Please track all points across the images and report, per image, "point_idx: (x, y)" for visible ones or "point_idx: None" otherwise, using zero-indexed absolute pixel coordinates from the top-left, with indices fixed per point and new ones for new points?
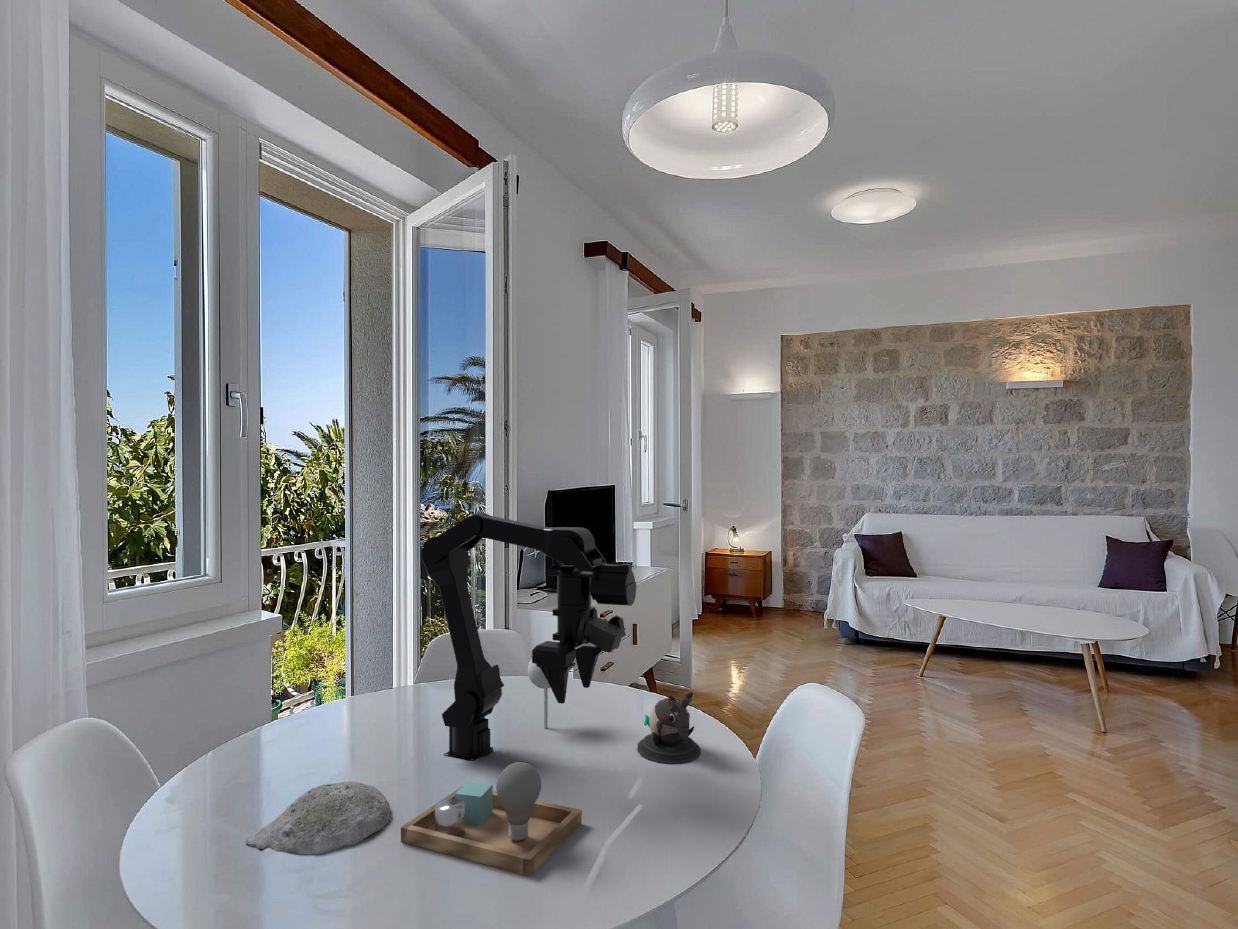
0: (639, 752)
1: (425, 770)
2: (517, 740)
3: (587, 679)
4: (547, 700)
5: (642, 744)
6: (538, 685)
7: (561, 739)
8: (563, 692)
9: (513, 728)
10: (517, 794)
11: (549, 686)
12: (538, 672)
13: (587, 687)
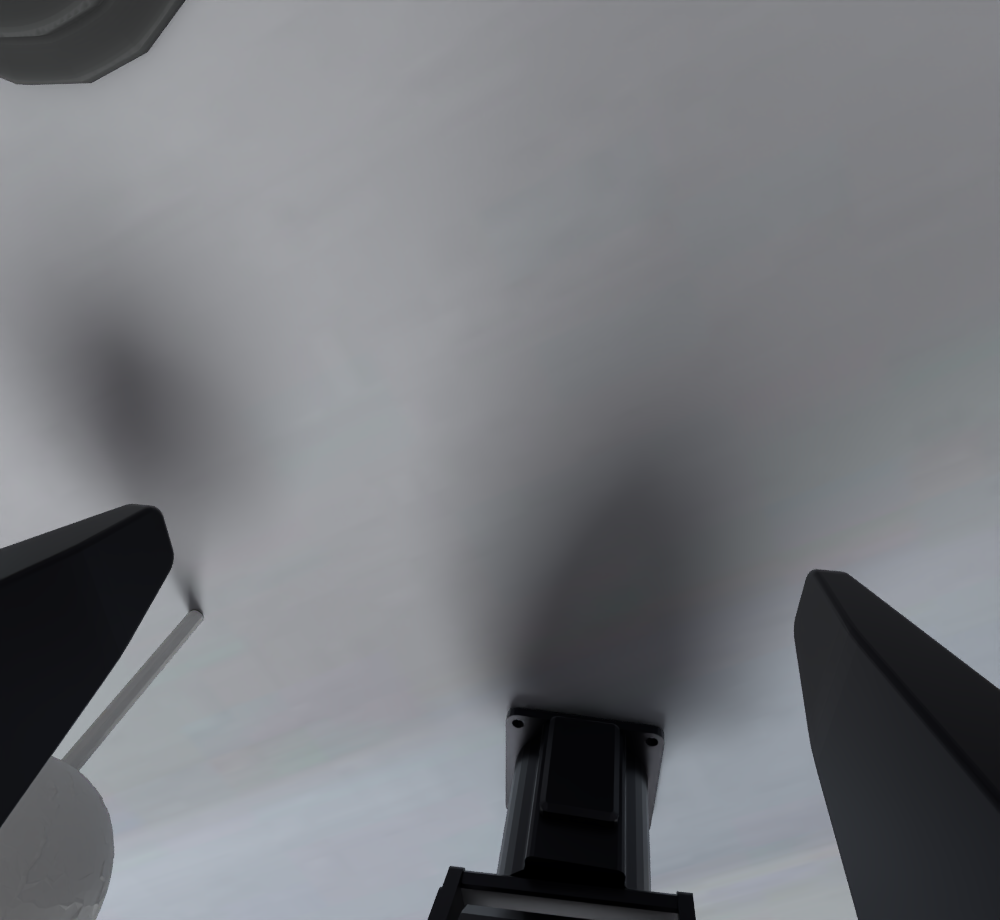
0: (168, 15)
1: (764, 833)
2: (367, 666)
3: (93, 577)
4: (107, 710)
5: (87, 21)
6: (109, 824)
7: (256, 515)
8: (977, 680)
9: (273, 716)
10: None
11: (69, 773)
12: (64, 915)
13: (160, 517)
